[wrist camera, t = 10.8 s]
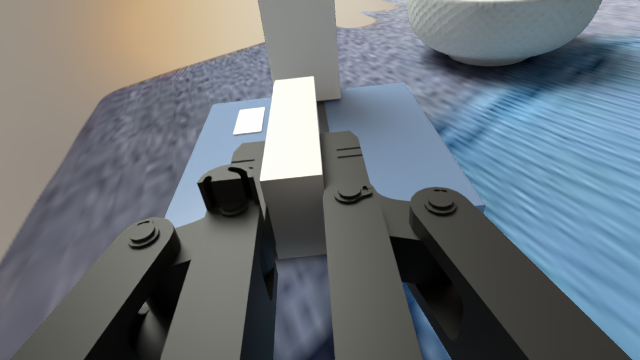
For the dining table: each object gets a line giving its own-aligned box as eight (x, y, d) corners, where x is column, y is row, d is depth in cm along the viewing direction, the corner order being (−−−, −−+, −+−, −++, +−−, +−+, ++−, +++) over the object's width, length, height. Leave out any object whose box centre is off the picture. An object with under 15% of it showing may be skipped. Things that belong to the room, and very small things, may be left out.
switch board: (480, 227, 18) (485, 203, 18) (164, 262, 19) (153, 240, 18) (403, 98, 31) (404, 81, 30) (218, 120, 32) (213, 103, 31)
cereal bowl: (373, 64, 39) (372, -9, 35) (452, 25, 48) (459, -37, 44) (544, 100, 29) (571, 2, 25) (605, 42, 38) (633, -37, 34)
